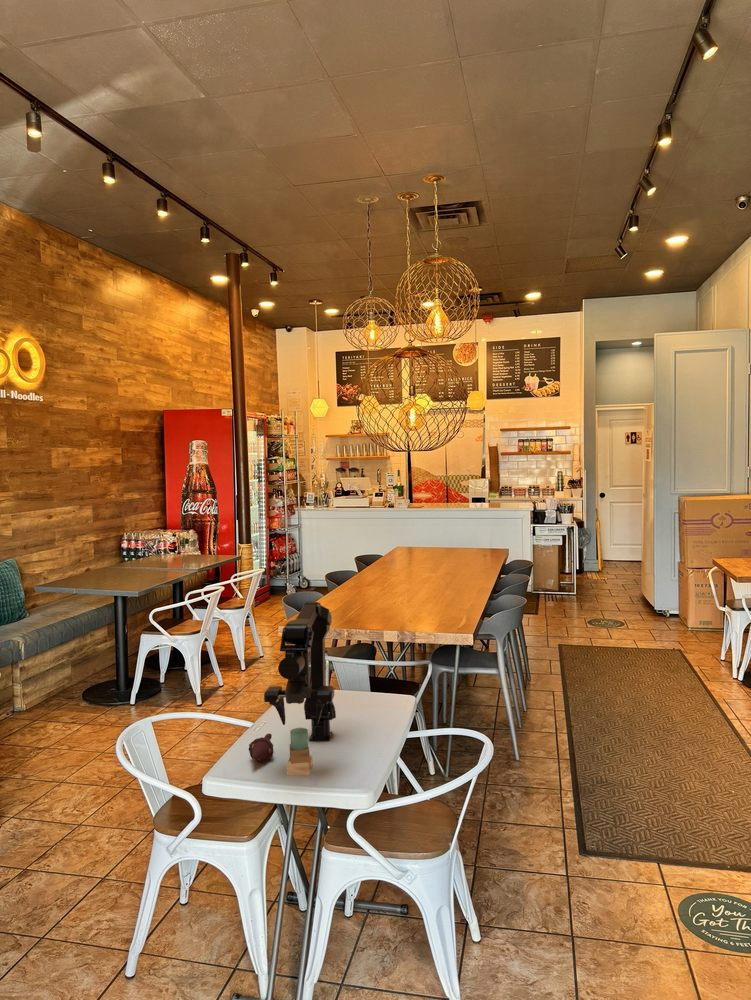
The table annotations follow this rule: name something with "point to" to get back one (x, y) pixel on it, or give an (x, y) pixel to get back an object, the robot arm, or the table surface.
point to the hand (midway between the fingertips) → (300, 724)
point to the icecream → (261, 748)
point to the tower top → (299, 755)
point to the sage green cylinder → (299, 738)
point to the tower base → (300, 767)
